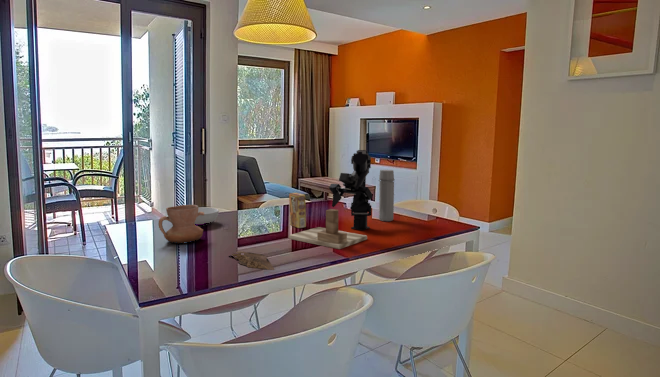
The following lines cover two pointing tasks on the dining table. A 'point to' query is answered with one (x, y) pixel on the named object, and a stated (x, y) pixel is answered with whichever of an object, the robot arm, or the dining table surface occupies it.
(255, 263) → the wooden fragment
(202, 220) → the serving bowl
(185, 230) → the ceramic jug
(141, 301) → the dining table surface
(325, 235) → the block
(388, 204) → the water bottle
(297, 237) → the birch board
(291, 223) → the candy box
